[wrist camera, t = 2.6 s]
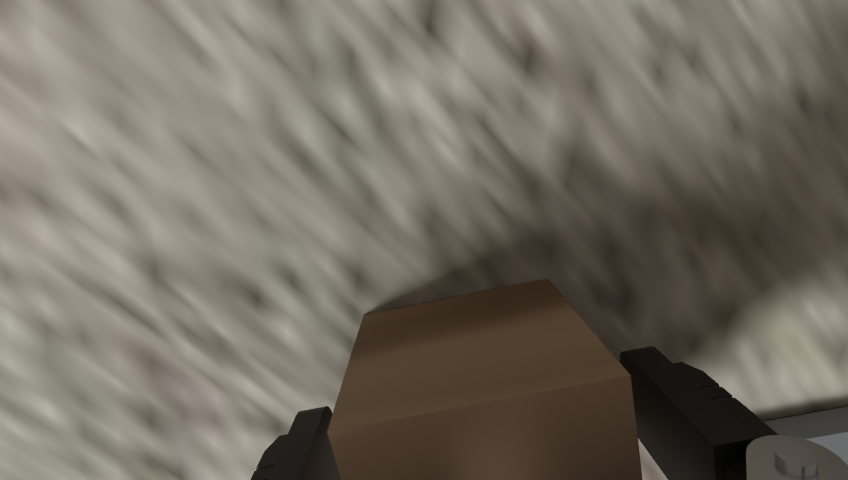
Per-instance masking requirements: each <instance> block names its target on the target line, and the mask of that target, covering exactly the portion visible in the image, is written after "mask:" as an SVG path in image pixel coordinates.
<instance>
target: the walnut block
mask: <svg viewBox="0 0 848 480" xmlns="http://www.w3.org/2000/svg"><path fill="white" fill-rule="evenodd" d="M327 434H328V437H329V440H330V444H331V447H332V451H333V454H334V457H335V461H336V464H337V468H338V471H339V474H340V478H341V480H642V473H641V464H640V455H639V446H638V437H637V428H636V419H635V410H634V401H633V392H632V383H631V375H630V374H629V373H628V372H627V370H626V369H625V368H624V367H623V366H622V365H621V364H620V362H619V361H618V360H617V359H616V358H615V357H614V355H613V354H612V353H611V352H610V351H609V350H608V348H607V347H606V346H605V345H604V344H603V343H602V342H601V340H600V339H599V338H598V337H597V336H596V335H595V333H594V332H593V331H592V330H591V329H590V328H589V327H588V325H587V324H586V323H585V322H584V321H583V320H582V318H581V317H580V316H579V315H578V314H577V313H576V311H575V310H574V309H573V308H572V307H571V306H570V305H569V303H568V302H567V301H566V300H565V299H564V298H563V296H562V295H561V294H560V293H559V292H558V291H557V290H556V288H555V287H554V286H553V285H552V284H551V283H550V281H549V280H548V279H542V280H537V281H532V282H527V283H522V284H517V285H512V286H507V287H502V288H497V289H492V290H486V291H481V292H476V293H471V294H466V295H461V296H456V297H451V298H446V299H441V300H436V301H430V302H425V303H420V304H415V305H410V306H405V307H400V308H395V309H390V310H385V311H380V312H374V313H369V314H364V316H363V319H362V322H361V325H360V329H359V332H358V335H357V338H356V341H355V345H354V348H353V351H352V354H351V357H350V360H349V364H348V367H347V370H346V373H345V376H344V379H343V383H342V386H341V389H340V392H339V395H338V399H337V402H336V405H335V408H334V411H333V414H332V418H331V421H330V424H329V427H328V430H327Z"/></svg>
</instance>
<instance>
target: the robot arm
mask: <svg viewBox="0 0 848 480" xmlns="http://www.w3.org/2000/svg"><path fill="white" fill-rule="evenodd" d="M620 364H621V365H622V366H623V367H624V368H625V369H626V370H627V372H628V373H629V374H630V375H631V383H632V392H633V401H634V410H635V419H636V428H637V437H638V438H639V440H640V441H641V442H642V444H643V445H644V447H645V448H646V449H647V451H648V452H649V454H650V455H651V456H652V458H653V459H654V461H655V462H656V463H657V465H658V466H659V468H660V469H661V470H662V472H663V473H664V474H665V476H666V477H667V479H668V480H848V465H847V464H846V463H845V462H844V461H843V460H842V459H841V458H840V457H839V456H838V455H836V454H835V453H834V452H832V451H830V450H829V449H827V448H825V447H823V446H821V445H819V444H817V443H814V442H811V441H809V440H805V439H802V438H798V437H793V436H785V435H779V434H777V433H776V432H775V431H774V430H773V429H771V428H770V427H769V426H768V425H767V424H766V423H764V422H763V421H762V420H761V419H760V418H758V417H757V416H756V415H755V414H754V413H752V412H751V411H750V410H749V409H748V408H746V407H745V406H744V405H743V404H742V403H740V402H739V401H738V400H737V399H736V398H732V395H731V394H730V393H728V392H727V391H726V390H725V389H724V388H722V387H719V384H718V383H717V382H715V381H714V380H713V379H712V378H711V377H709V376H708V375H707V374H706V373H705V372H703V371H701V370H699V369H696V368H694V367H692V366H689V365H687V364H685V363H683V362H679V363H674V364H673V363H672V362H671V361H669V360H668V359H667V358H666V357H665V356H664V355H663V354H662V353H661V352H659V351H658V350H657V349H656V348H655V347H653V346H650V347H645V348H639V349H634V350H629V351H623V352H621V354H620ZM331 418H332V411H331V409H330V408H329V407H328V406H326V407H321V408H316V409H310V410H305V411H300V412H298V413H297V415H296V417H295V420H294V422H293V424H292V426H291V428H290V431H289V433H288V434H287V435H281V436H279V437H278V438H277V439H276V440H275V441H274V442H273V443H272V444H271V445H270V446H269V447H268V448H267V449H266V451H265V452H264V454H263V456H262V458H261V460H260V462H259V464H258V466H257V471H255V472H254V474H253V476H252V478H251V480H341V478H340V474H339V471H338V468H337V464H336V461H335V457H334V454H333V451H332V447H331V444H330V440H329V437H328V434H327V430H328V427H329V424H330V421H331Z"/></svg>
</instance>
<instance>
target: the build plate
mask: <svg viewBox="0 0 848 480" xmlns="http://www.w3.org/2000/svg"><path fill="white" fill-rule="evenodd" d="M763 422H764V423H766V424H767V425H768V426H769V427H770V428H771V429H773V430H774V431H775V432H776V433H777V434H779V435H785V436H793V437H798V438H802V439H805V440H809V441H811V442H814V443H817V444H819V445H821V446H823V447H825V448H827V449H829V450H830V451H832V452H834V453H835V454H836V455H838V456H839V457H840V458H841V459H842V460H843V461H844V462H845V463H846V464H847V465H848V407H842V408H836V409H831V410H825V411H819V412H814V413H808V414H803V415H797V416H791V417H786V418H780V419H774V420H769V421H763Z"/></svg>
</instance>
